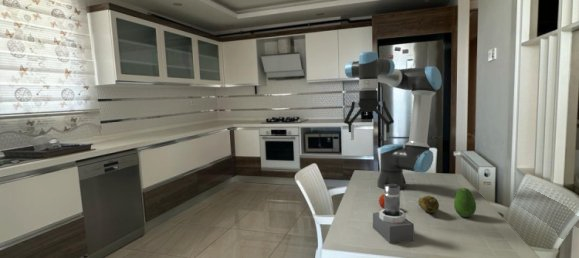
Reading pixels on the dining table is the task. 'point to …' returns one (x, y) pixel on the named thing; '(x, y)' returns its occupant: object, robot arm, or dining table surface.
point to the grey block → (393, 227)
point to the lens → (392, 200)
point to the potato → (428, 203)
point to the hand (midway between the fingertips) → (368, 140)
